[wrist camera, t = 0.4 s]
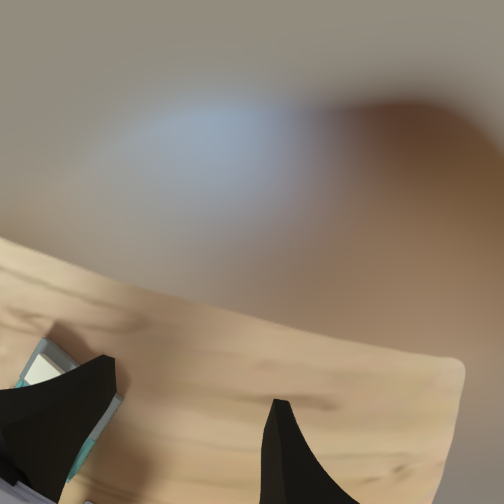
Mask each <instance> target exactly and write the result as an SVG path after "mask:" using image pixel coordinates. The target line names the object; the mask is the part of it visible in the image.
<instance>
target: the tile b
mask: <svg viewBox="0 0 504 504" xmlns="http://www.w3.org/2000/svg"><path fill="white" fill-rule="evenodd" d="M64 373H66V372H65V371H63V370H62V369H61V368H60V367H59V366H58V365H57V364H55V363H54V362H53V361H52V360H51V359H50V358H49V357H48V356H47V355H45V354H38V356H37V357H36V359H35V361H34V362H33V364H32V366H31V367H30V369H29V371H28V373H27V374H26V376H25V378H24V379H25V380H26V381H27V382H28V383H29V384H30V385H33V384H36V383H40V382H43V381H46V380H49V379H52V378H54V377H57V376H59V375H61V374H64Z"/></svg>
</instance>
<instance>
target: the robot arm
mask: <svg viewBox="0 0 504 504" xmlns="http://www.w3.org/2000/svg"><path fill="white" fill-rule="evenodd" d="M116 392H117V390H116V376H115V358H112V357H109V356H106V355H101V356H99V357H97V358H95V359H93V360H91V361H89V362H87V363H85V364H83V365H81V366H79V367H77V368H75V369H73V370H71V371H68V372H66V373H64V374H61V375H59V376H57V377H54V378H52V379H49V380H46V381H43V382H40V383H36V384H33V385H29V386H24V387H19V388H13V389H4V390H0V504H58V502H59V499H60V496H61V493H62V490H63V488H64V485H65V482H66V480H67V477H68V475H69V473H70V470H71V468H72V466H73V464H74V462H75V459H76V457H77V455H78V454H79V452H80V450H81V448H82V446H83V444H84V442H85V441H86V439H87V438H88V436H89V435H90V434H91V432H92V431H93V429H94V428H95V426H96V425H97V424H98V422H99V421H100V419H101V418H102V416H103V415H104V414H105V412H106V411H107V409H108V408H109V406H110V404H111V402H112V400H113V398H114V396H115V394H116ZM85 504H93V503H91V502H90V501H86V502H85ZM259 504H360V503H358V502H357V501H355V500H354V499H353V498H351V497H350V496H349V495H348V494H347V493H346V492H345V491H343V490H342V489H341V488H340V487H339V486H338V485H337V484H336V483H335V481H334V480H333V479H332V478H331V477H330V476H329V475H328V474H327V472H326V471H325V470H324V469H323V467H322V466H321V465H320V463H319V462H318V461H317V459H316V458H315V456H314V454H313V453H312V451H311V450H310V448H309V446H308V444H307V443H306V441H305V439H304V437H303V435H302V433H301V431H300V429H299V426H298V424H297V422H296V419H295V417H294V414H293V412H292V409H291V406H290V403H289V402H288V401H285V400H279V399H274V400H273V403H272V406H271V410H270V413H269V416H268V419H267V422H266V425H265V428H264V433H263V440H262V447H261V493H260V503H259Z"/></svg>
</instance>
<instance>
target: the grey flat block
mask: <svg viewBox="0 0 504 504" xmlns="http://www.w3.org/2000/svg"><path fill="white" fill-rule="evenodd" d="M38 354H45V355H47V356H48V357H49V358H50V359H51V360H52V361H53V362H54V363H55V364H57V365H58V366H59V367H60V368H61V369H62V370H63V371H65V372H68V371H71V370H73V369H75V368H77V367H79V366H81V365H80V364H79V363H77V362H76V361H75V360H74V359H73V358H71V357H70V356H69V355H68V354H67V353H66V352H64V351H63V350H62V349H61V348H60V347H59V346H58V345H57V344H55V343H54V342H53V341H52V340H51V339H50V338H44V337H42V339H41V340H40V342H39V344H38V345H37V347H36V349H35V350H34V352H33V354H32V355H31V357H30V359H29V360H28V362H27V364H26V366H25V367H24V369H23V371H22V373H21V375H20V376H19V377H20V378H21V379H22V380H23V381H24V382H25V383H26V384H27V385H28V386H29V385H30V384H29V383H28V382H27V381H26V380H25V379H24V378H25V376H26V374H27V373H28V371H29V369H30V367H31V366H32V364H33V362H34V361H35V359H36V357H37V356H38ZM123 400H124V398H123V397H121V396H120V395H119V394H117V393H116V394H115V396H114V398H113V400H112V402H111V404H110V406H109V408H108V409H107V411H106V412H105V414H104V415H103V416H102V418H101V419H100V421H99V422H98V424H97V425H96V426H95V428H94V429H93V431H92V432H91V434H90V435H89V436H88V437H89V438H91V439H92V440H94V441H96V440H97V439H98V438H99V437H100V436H101V434H102V433H103V431H104V429H105V428H106V426H107V425H108V423H109V422H110V420H111V418H112V417H113V415H114V414H115V412H116V411H117V409H118V408H119V406H120V404H121V403H122V401H123Z"/></svg>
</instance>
